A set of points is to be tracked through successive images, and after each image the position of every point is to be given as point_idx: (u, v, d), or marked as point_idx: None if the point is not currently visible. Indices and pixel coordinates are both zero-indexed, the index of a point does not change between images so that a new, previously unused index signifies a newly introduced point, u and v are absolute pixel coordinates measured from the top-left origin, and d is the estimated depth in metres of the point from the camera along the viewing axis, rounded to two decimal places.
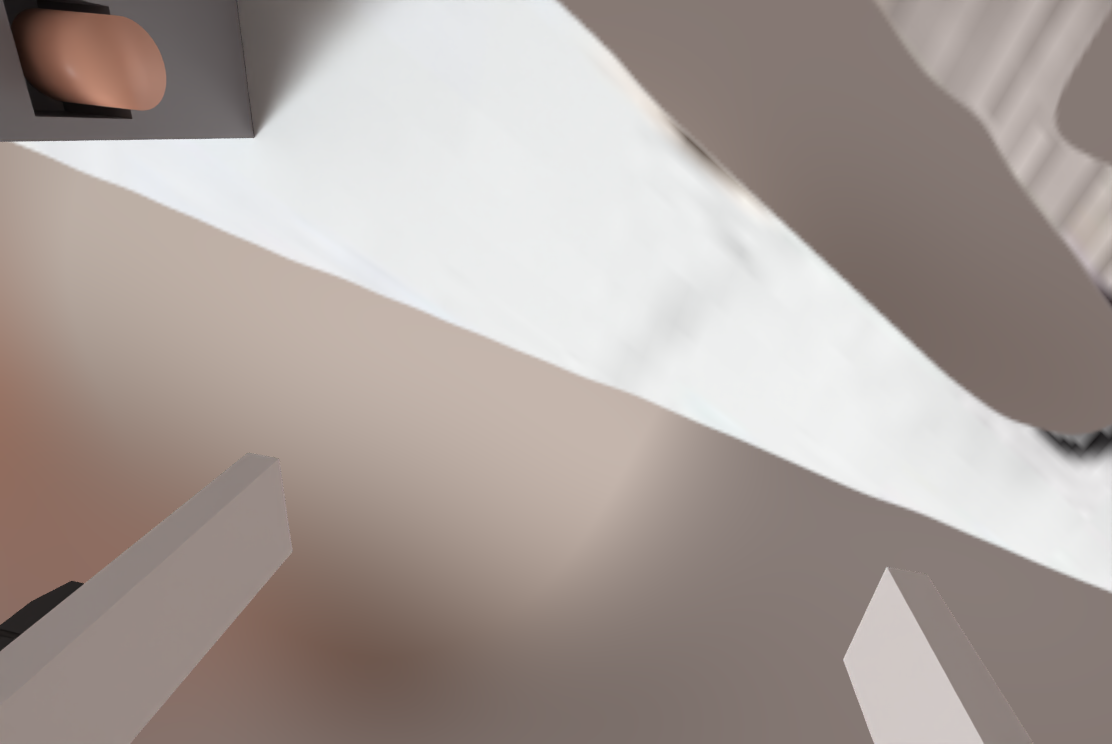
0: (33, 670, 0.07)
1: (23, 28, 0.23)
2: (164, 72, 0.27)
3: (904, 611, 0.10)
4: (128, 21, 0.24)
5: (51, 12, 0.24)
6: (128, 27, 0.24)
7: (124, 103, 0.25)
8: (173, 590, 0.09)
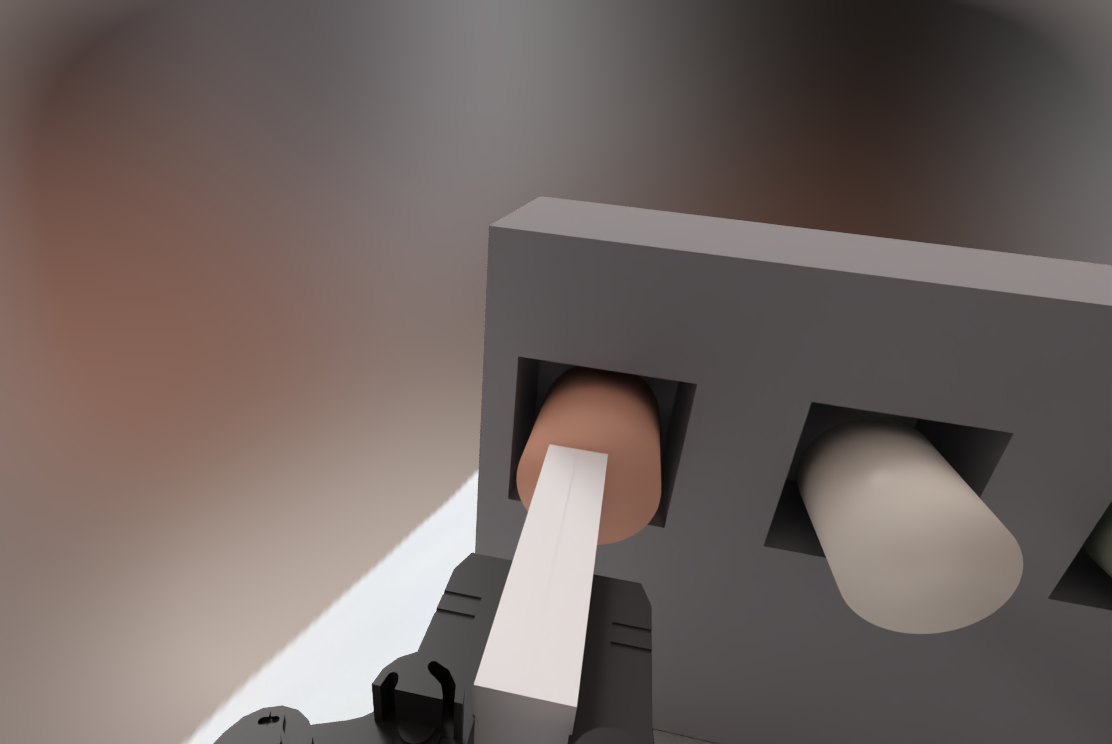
0: (536, 620, 0.09)
1: (636, 383, 0.16)
2: None
3: (572, 476, 0.13)
4: (652, 508, 0.14)
5: (657, 421, 0.16)
6: (643, 504, 0.14)
7: (527, 449, 0.14)
8: None
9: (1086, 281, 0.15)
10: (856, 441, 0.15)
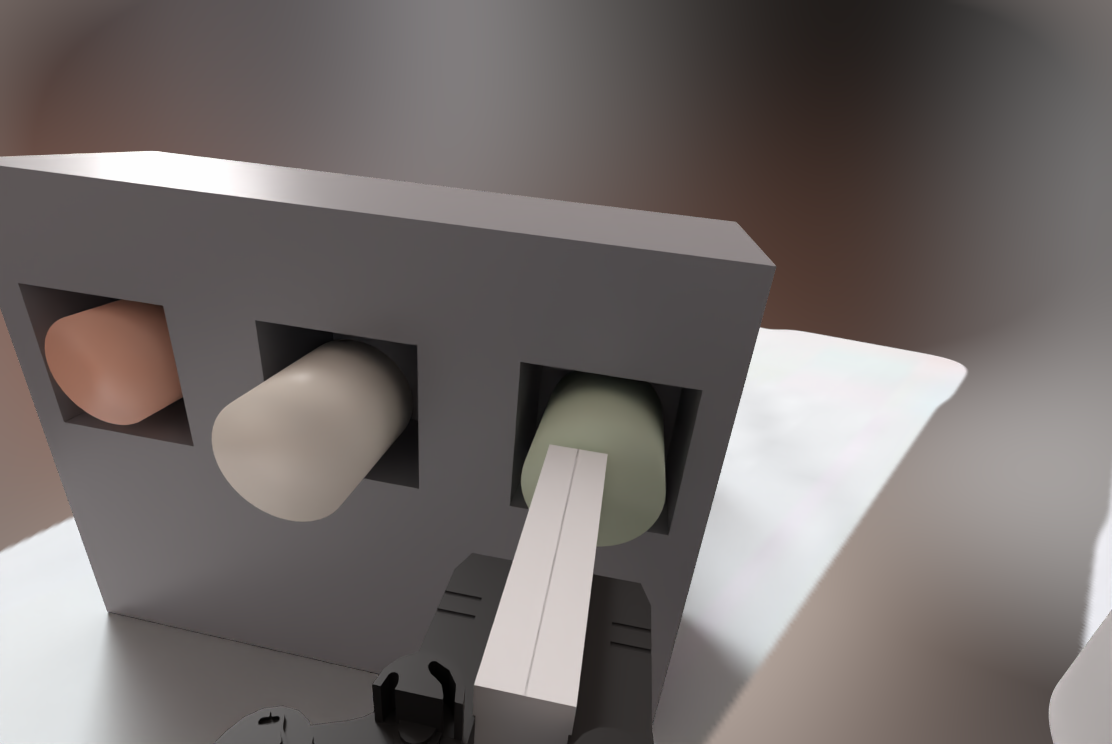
0: (536, 620, 0.09)
1: None
2: (110, 420, 0.18)
3: (572, 477, 0.13)
4: (151, 389, 0.17)
5: None
6: (143, 386, 0.17)
7: (46, 340, 0.17)
8: None
9: (520, 213, 0.16)
10: (303, 357, 0.16)
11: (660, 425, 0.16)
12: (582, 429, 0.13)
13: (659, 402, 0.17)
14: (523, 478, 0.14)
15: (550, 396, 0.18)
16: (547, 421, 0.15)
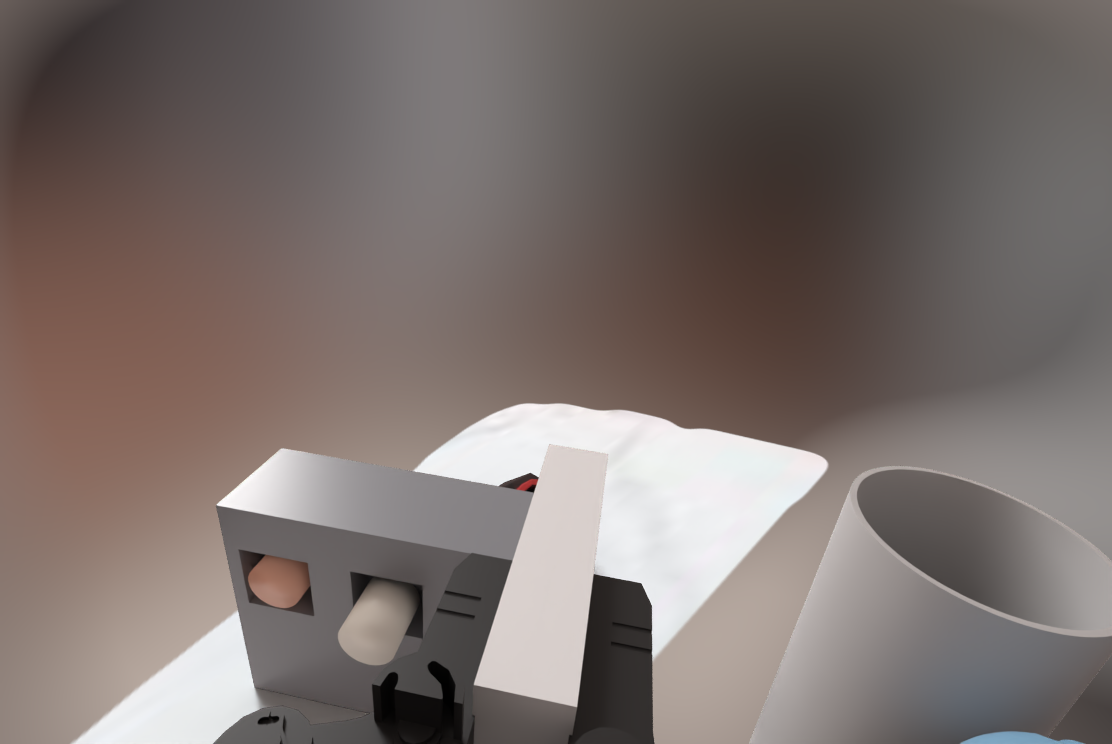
0: (536, 620, 0.09)
1: None
2: (275, 605, 0.38)
3: (572, 477, 0.13)
4: (298, 595, 0.37)
5: None
6: (295, 593, 0.37)
7: (249, 573, 0.37)
8: None
9: (468, 519, 0.36)
10: (371, 586, 0.36)
11: None
12: None
13: None
14: None
15: None
16: None
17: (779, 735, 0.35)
